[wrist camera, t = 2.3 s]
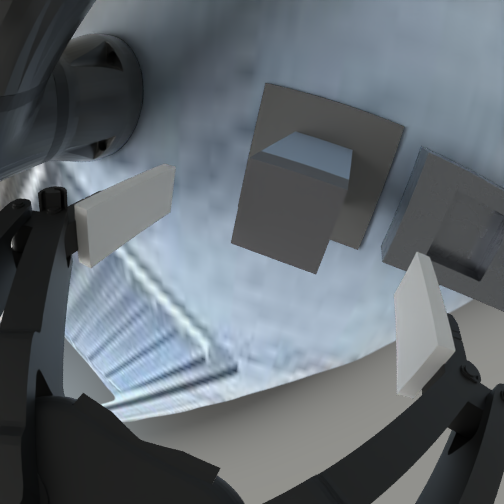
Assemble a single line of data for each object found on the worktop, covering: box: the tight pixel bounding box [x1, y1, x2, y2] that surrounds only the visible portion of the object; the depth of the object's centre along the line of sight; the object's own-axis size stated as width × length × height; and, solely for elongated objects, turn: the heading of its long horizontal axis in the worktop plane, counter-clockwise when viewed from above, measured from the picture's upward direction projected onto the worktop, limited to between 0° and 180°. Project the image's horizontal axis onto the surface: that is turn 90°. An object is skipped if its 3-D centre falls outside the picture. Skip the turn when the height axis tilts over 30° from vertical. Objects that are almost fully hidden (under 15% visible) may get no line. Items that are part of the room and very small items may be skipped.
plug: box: [231, 132, 353, 274], centre depth 21 cm, size 5×5×12 cm
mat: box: [238, 83, 404, 250], centre depth 26 cm, size 12×12×1 cm
